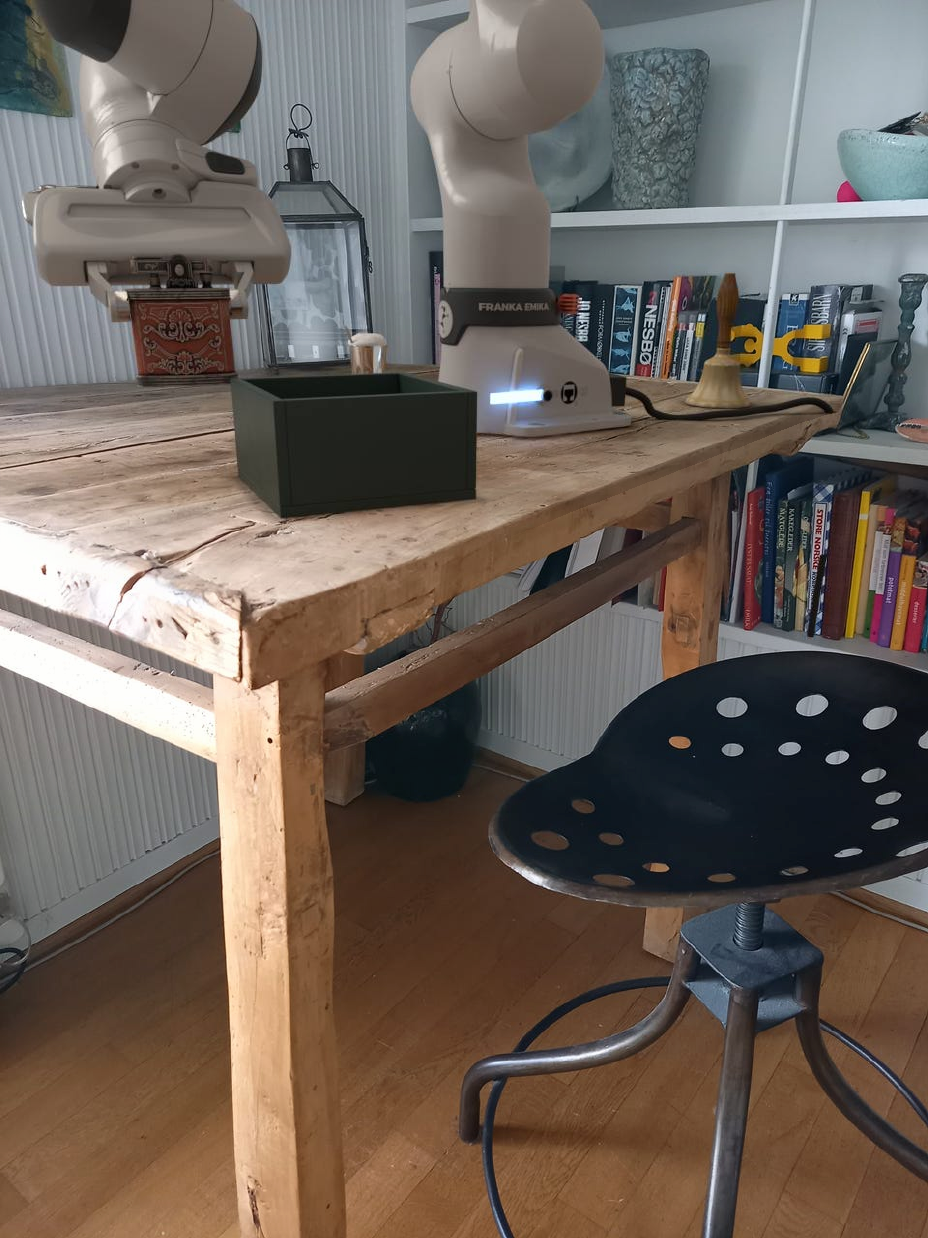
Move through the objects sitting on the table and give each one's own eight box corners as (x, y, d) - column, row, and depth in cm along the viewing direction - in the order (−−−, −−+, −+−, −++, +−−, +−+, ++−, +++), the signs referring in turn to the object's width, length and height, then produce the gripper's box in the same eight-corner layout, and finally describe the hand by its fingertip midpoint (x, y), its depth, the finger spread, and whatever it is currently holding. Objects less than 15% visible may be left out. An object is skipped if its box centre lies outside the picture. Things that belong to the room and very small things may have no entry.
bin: (405, 463, 79) (404, 371, 76) (476, 499, 67) (477, 391, 64) (238, 476, 73) (229, 378, 71) (280, 518, 61) (272, 401, 58)
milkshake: (337, 412, 108) (333, 324, 104) (373, 408, 111) (371, 323, 107) (359, 417, 104) (357, 326, 101) (396, 412, 108) (394, 325, 104)
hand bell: (740, 410, 112) (756, 273, 106) (676, 405, 116) (688, 272, 110) (758, 402, 119) (773, 273, 113) (696, 398, 123) (708, 272, 117)
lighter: (238, 380, 77) (226, 254, 73) (238, 384, 74) (225, 253, 70) (140, 383, 76) (122, 254, 72) (135, 387, 72) (117, 253, 69)
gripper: (13, 152, 70) (36, 287, 66) (273, 162, 78) (310, 284, 73) (23, 217, 76) (45, 347, 71) (265, 221, 84) (300, 338, 79)
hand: (182, 315), depth 72 cm, fingers closed on lighter, 8 cm apart
